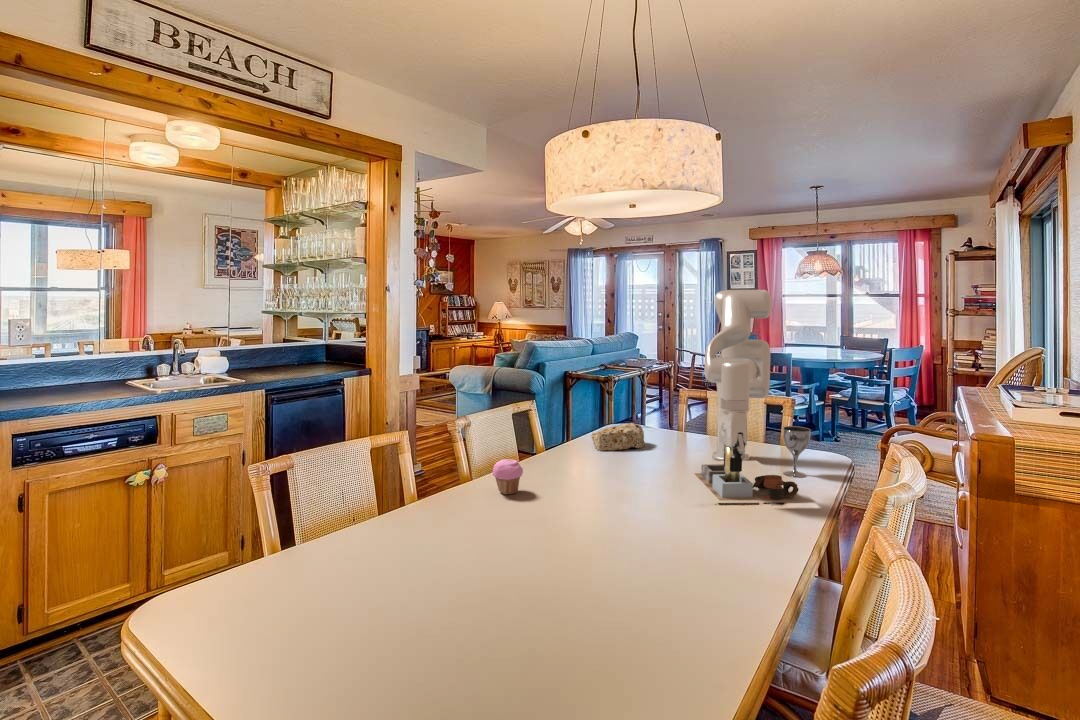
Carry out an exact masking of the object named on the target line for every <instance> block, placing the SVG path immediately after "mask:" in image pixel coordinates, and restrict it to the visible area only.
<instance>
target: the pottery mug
mask: <svg viewBox="0 0 1080 720" xmlns="http://www.w3.org/2000/svg"><path fill="white" fill-rule="evenodd" d="M791 487H792V490H791V491H789V490H790V488H791ZM755 488H756V489H762V490H763V489H764V490H767V491H768V494H767V495H762V499H765V500H771V501H774V502H766V501H765V502H763V504H764V505H771V504H773V505H781V506H782V505H785V503H786V502H783V500H786V499H787V500H789V499H791V498H794V497H796V495H797V494H798V492H799V489H800V488H798V485H797V483H796V482H795V481H788V480H787V481H784V480H783V477H782V475H777V474H766V475H760V476H756V477H754V483H753V489H755ZM775 501H777V502H775ZM778 501H780V502H778ZM781 501H782V502H781Z"/></svg>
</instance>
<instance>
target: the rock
mask: <svg viewBox="0 0 1080 720" xmlns="http://www.w3.org/2000/svg"><path fill="white" fill-rule="evenodd" d="M591 439H592V442H593V445H594V449H595V450H596V449H597V450H596V451H599V450H600V451H599V452H604V451H617V450H628V449H630V448H635V449H642V448H644V446H645V432H644V429H643V427H642V426H641V425H640V424H637V423H634V422H633V423H632V422H630V423H628V422H626V423H625V424H623V423H621V424H620V425H617V426H616V425H613V426H610V427H607V428H603V429H601V430H599V431H597V432H592V434H591Z"/></svg>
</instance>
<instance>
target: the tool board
mask: <svg viewBox="0 0 1080 720" xmlns="http://www.w3.org/2000/svg"><path fill="white" fill-rule="evenodd" d="M700 468H701V472H700V473H699V472H698V473H696V472H695V473H694V475H695V476H696V477H697V479H699V481H701V483H703V484H704V485H705V486H706V488H707V489H708V490H709V491H710V492H711V493H712V494H713V495H714V496H715V497H716V498H717V499H718V500H719V501H760V498H759V497H757V496H756V495H755V494H754V493H753V494H752V498H722V497H721V496H720V495H719V494H718V493H717V492H716V491H715V490H714V489H713V488H712V484H713V474H725V466H724V463H723V464H717V463H716V464H701V467H700ZM717 505H719V506H759V505H760V502H717Z"/></svg>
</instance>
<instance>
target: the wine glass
mask: <svg viewBox="0 0 1080 720" xmlns="http://www.w3.org/2000/svg"><path fill="white" fill-rule="evenodd" d="M782 433H783V434H782V438H783V439H782V440H783V443H784V446H785V447H786V449H787V450H788V451H789V452H790V453H791V455H792V458H793V470H785V471H783V472H782V475H784V476H785V477H790V478H798V479H803V478H806V477H808V475H807V474H806V473H804V472H803V471H802V472H801V471H798V470H797V464H798V459H799V456H800V455H801V454H802V453H803V452H804V451H805V450H806V449H807V448H808V446H809V443H810V440H811V428H808V427H804V426H796V425H795V426H794V425H786V426H783V428H782Z"/></svg>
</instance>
